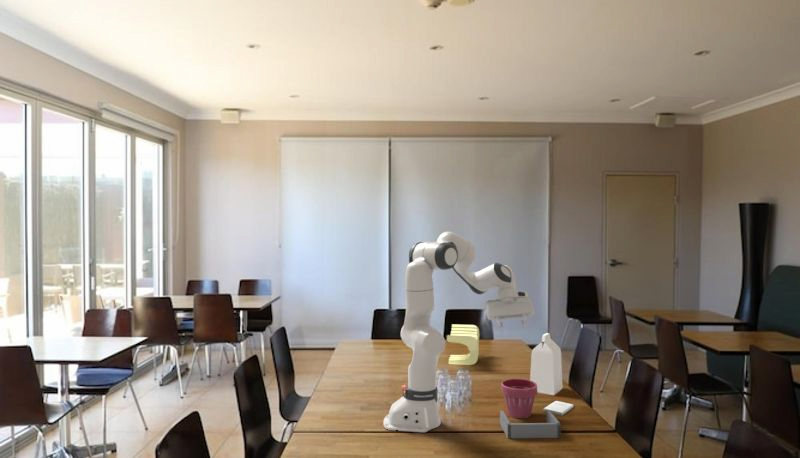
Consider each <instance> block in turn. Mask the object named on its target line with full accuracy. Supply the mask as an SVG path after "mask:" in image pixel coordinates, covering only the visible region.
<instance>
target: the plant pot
mask: <svg viewBox="0 0 800 458" xmlns="http://www.w3.org/2000/svg"><path fill="white" fill-rule="evenodd" d="M500 387H501V393H502V394H503V396H504V397H503V398H504V402H505V405H506V410H507V414H508V416H510V417H512V418H516V419H527V418H530V417H531V416H532V412H533V406H534V403H535V397H536V396H537V395H538V392H537V384H536V383H535V382H533V381H530V379H526V378H509V379H505V380H502V382H501V384H500Z"/></svg>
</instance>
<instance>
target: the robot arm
mask: <svg viewBox="0 0 800 458" xmlns="http://www.w3.org/2000/svg"><path fill="white" fill-rule="evenodd" d="M408 253H409V254H408V262H409V263H408V264H407V266H406V270H405V275H404V276H405V278H404V279H405V280H404V289H405V292H404V294H405V316H404V322H403V325H402V327H401V330H400V338H401V340H402V342H403V343H404V344H405V345H406V347H408V348H410V349H412V352H413V353H412V360H411V362H410V364H409V365H408V368H407V377H408V379H407V384H408V385H405V384H403V385H401V390H402V396H401V397H400V398H399V399H397V400H396V401H395V402H393V403H392V404H391V406H390V408H389V410H388V414H386V415H385V417H384V418H383V423H382V424H383V427H384V429H386V430H387V429H388V431H396V430H398V431H399V432H413V433H427V432H428V431H430V430H432V429H433V430H434V429H435V428H438V427H439V426H440V425H442V423H441V419H440V414H439V410H438V409H439V408H438V399H439V398H438V397H439V391H438V390H439V389H438V386H437V367H438V361H439V357H440V355H441V353H443V351H444V349H445V346H446V339H445V337H444V335H443V334H442V333H441V332H440V331H439V330H438V329H437V328H436V327H433V326H431V323H430V322H431V316H432V313H433V311H434V309H435V296H434V293H435V292H434V281H433V280H434V279H433V272H434V271H436V270H437V271H438V270H443V271H446V270H451V269H452V270H453V272H454V273H455V274H456V275H457V276H458V277H459V278H460V279H461V280H462V281H464V283H465V284H466V285H467V286H468V287H469V288H470V291H472V292H473V293H475V295H476V294H477V295H482V294H485V293H486V292H488V291H490V290H492V289H494V288H496V289H497V298H496V299H489V300H488V301H485V303H484V307H485V309H486V317H487V319H488V320H489V321H494V320H495V322H496V323H497V324H498V327H499V328H500V329H501V328H503V327H504V324H503V322H502V321H500V320H505V319H515V318H518V319H519V318H523V319H522V320H521V321H520V323H521V326H526V320H527V317H533V316H534V314H535V309H534V305H533V302H532V300H531V299H530V298H529V293H528V292H526V291H520V290H518V289H517V287H516V286H517V283H516V277H515V273H514V271H513V268H511V266H509V265H506V264H502V263H499V262H495V263H493V264H490V265H488V266H486V267H484V268H481V270H479V271H478V270H477V271H475V272H472V271H471V270H470V269H469V268H470V267H471V266H472V265H473V264H474V263H475V260H476V257H477V253H476V247H475V246H474V245H473V243H471V242H470V241H469V240H467V239H466V238H464V237H463V236H461V235H459V234H458V233H455V232H453V231H444V232H442V233H441V234H439V236H438V237H437V240H436V241H419V242H416V243H413V245H412V246H411V247H410V249H409V251H408Z"/></svg>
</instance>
